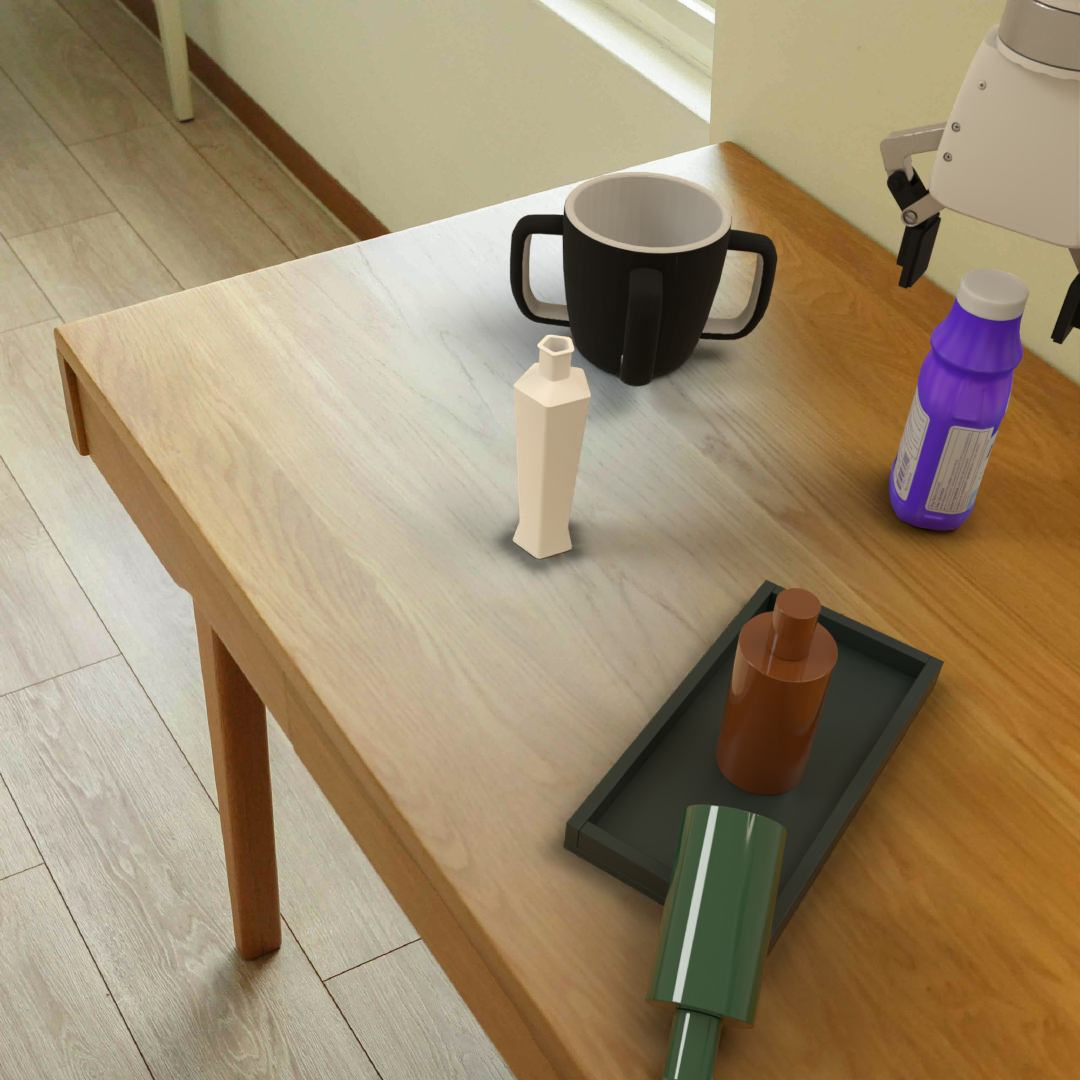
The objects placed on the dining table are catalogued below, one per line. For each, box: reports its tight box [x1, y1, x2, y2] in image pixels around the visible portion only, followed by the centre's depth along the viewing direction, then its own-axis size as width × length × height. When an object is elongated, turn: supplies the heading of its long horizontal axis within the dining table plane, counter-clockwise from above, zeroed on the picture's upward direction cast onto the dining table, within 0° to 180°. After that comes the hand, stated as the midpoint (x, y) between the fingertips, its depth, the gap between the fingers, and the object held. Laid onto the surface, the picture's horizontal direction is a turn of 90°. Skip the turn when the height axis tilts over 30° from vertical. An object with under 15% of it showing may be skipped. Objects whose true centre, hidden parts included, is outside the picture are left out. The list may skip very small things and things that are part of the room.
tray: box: [563, 579, 945, 960], centre depth 74 cm, size 12×23×2 cm, turn 146°
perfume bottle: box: [512, 334, 592, 560], centre depth 83 cm, size 5×4×15 cm
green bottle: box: [644, 805, 788, 1080], centre depth 62 cm, size 5×5×12 cm
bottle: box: [888, 267, 1030, 531], centre depth 87 cm, size 7×6×17 cm
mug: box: [509, 171, 778, 387], centre depth 101 cm, size 16×16×12 cm
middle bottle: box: [715, 587, 838, 795], centre depth 70 cm, size 5×5×12 cm
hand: (985, 305), depth 82 cm, fingers open, 9 cm apart
